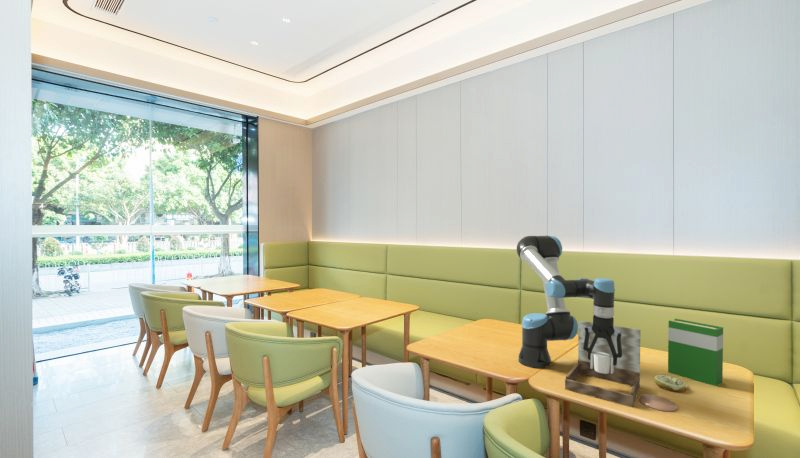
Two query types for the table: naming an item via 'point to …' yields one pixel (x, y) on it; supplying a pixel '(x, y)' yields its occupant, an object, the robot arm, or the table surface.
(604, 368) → the shot glass
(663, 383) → the decorated donut
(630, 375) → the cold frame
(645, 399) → the terracotta saucer
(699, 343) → the hardback book
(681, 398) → the table surface
